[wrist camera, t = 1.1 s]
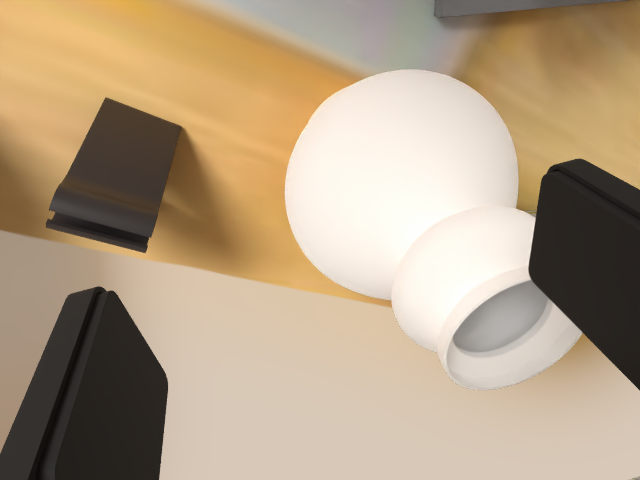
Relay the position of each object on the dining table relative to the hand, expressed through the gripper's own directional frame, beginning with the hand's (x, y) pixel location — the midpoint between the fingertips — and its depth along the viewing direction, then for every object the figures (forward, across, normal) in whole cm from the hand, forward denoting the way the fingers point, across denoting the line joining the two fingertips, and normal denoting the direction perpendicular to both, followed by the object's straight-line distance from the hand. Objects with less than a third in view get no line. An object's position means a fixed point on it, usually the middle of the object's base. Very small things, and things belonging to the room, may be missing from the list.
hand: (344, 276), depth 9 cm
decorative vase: (+30, -8, +11) cm, 33 cm away
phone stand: (+30, +12, +7) cm, 33 cm away
